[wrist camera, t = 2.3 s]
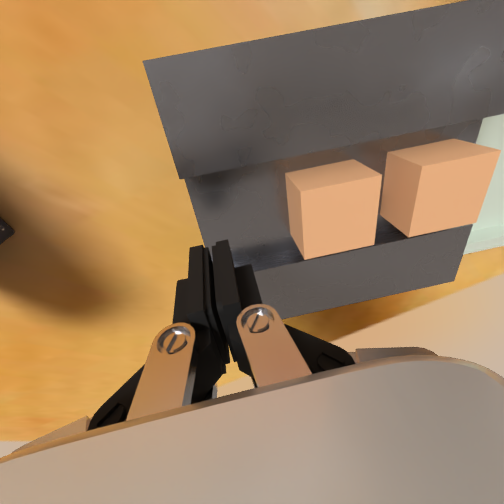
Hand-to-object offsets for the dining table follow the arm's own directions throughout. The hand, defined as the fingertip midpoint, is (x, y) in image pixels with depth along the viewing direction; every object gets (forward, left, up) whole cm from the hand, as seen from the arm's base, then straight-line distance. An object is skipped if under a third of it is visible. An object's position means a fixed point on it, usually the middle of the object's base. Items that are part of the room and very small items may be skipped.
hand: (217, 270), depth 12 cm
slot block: (-8, 0, -8) cm, 11 cm away
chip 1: (-7, 0, -5) cm, 8 cm away
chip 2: (-13, 0, -5) cm, 13 cm away
